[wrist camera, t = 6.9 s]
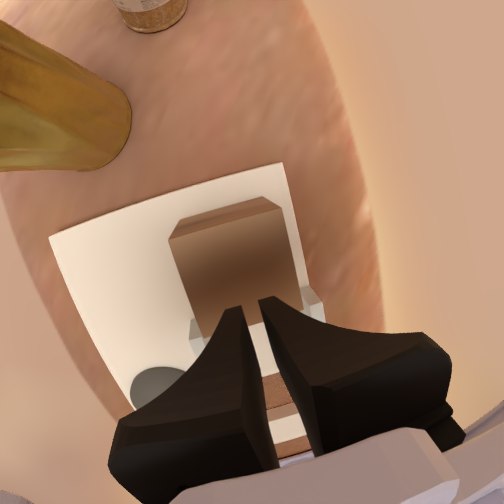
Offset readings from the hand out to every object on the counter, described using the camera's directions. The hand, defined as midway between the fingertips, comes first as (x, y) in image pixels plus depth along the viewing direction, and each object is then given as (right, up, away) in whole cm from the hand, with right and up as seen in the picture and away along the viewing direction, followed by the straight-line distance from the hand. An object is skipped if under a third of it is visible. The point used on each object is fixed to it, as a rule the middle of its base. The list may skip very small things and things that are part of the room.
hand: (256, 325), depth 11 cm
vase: (-11, +11, +6) cm, 16 cm away
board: (-3, -4, +11) cm, 12 cm away
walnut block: (-1, +3, +7) cm, 8 cm away
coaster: (-6, -8, +10) cm, 14 cm away
